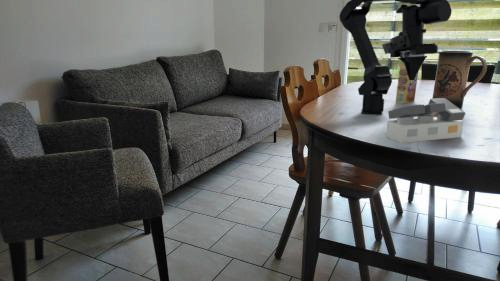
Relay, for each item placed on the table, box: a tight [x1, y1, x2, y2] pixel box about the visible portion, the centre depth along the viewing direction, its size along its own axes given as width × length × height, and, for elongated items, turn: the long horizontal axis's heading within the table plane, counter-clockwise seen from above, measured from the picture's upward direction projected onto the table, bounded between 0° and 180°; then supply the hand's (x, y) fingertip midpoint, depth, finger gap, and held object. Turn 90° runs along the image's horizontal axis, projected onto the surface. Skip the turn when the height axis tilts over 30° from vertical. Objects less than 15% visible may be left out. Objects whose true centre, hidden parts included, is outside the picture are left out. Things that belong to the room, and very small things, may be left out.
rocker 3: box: [428, 97, 466, 121], centre depth 94 cm, size 8×4×2 cm, turn 15°
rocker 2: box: [412, 103, 446, 118], centre depth 93 cm, size 8×4×2 cm, turn 14°
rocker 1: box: [388, 103, 425, 120], centre depth 91 cm, size 8×4×2 cm, turn 14°
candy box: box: [395, 63, 419, 105], centre depth 144 cm, size 9×4×15 cm, turn 134°
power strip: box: [385, 113, 464, 144], centre depth 94 cm, size 6×18×6 cm, turn 105°
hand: (411, 80), depth 111 cm, fingers closed
